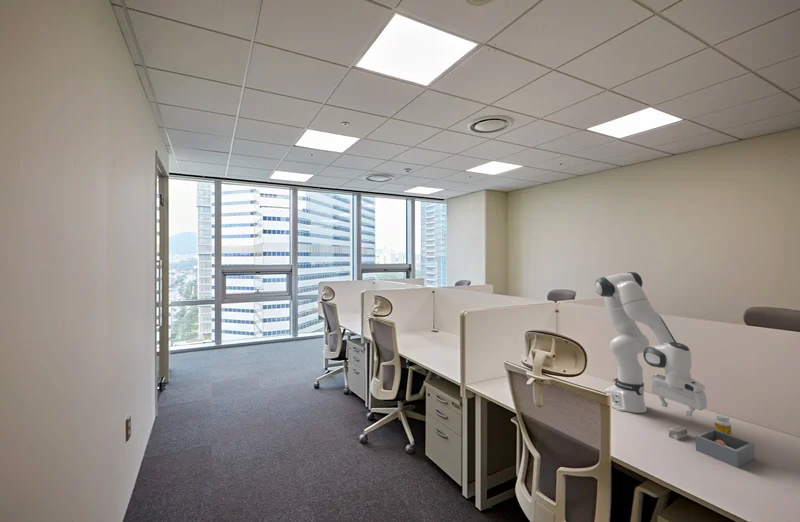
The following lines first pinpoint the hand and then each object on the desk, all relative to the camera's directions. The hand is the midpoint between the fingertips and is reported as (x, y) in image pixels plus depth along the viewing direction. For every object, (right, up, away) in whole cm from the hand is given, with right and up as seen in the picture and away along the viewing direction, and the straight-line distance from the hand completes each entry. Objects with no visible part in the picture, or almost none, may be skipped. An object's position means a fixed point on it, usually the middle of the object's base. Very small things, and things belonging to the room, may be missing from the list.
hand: (676, 410), depth 153 cm
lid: (0, -13, -1) cm, 12 cm away
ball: (+8, -11, -12) cm, 18 cm away
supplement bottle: (+20, -12, -1) cm, 23 cm away
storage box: (+7, -12, -15) cm, 20 cm away
